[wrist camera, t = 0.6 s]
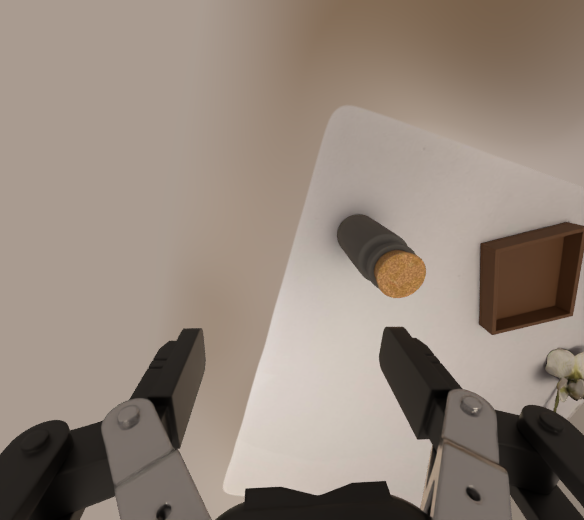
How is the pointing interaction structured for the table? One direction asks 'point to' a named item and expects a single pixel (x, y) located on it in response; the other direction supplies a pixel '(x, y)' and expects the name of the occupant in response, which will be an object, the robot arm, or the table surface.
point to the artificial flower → (567, 374)
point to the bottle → (381, 256)
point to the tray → (530, 277)
